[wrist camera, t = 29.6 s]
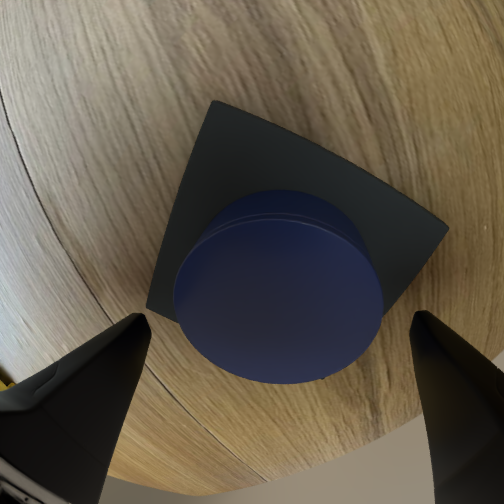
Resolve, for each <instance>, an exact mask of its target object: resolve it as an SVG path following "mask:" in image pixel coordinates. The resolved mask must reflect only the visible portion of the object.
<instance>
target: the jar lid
mask: <svg viewBox="0 0 504 504" xmlns="http://www.w3.org/2000/svg"><path fill="white" fill-rule="evenodd" d="M173 301H174V309H175V313H176V317H177V320H178V322H179V325H180V327H181V329H182V331H183V333H184V334H185V336H186V337H187V339H188V340H189V341H190V343H191V344H192V345H193V346H194V347H195V348H196V349H197V350H198V351H199V352H200V353H201V354H202V355H203V356H204V357H205V358H207V359H208V360H209V361H210V362H212V363H213V364H215V365H217V366H218V367H220V368H222V369H224V370H226V371H227V372H229V373H232V374H234V375H237V376H239V377H242V378H246V379H249V380H253V381H258V382H263V383H271V384H297V383H304V382H309V381H314V380H318V379H321V378H324V377H327V376H329V375H332V374H334V373H336V372H338V371H340V370H342V369H343V368H345V367H347V366H348V365H350V364H351V363H352V362H354V361H355V360H356V359H357V358H358V357H360V356H361V355H362V354H363V353H364V352H365V350H366V349H367V348H368V347H369V346H370V344H371V343H372V341H373V340H374V338H375V336H376V334H377V332H378V330H379V327H380V325H381V321H382V317H383V309H384V299H383V291H382V287H381V283H380V280H379V277H378V275H377V272H376V270H375V267H374V265H373V262H372V260H371V257H370V255H369V252H368V250H367V248H366V245H365V243H364V240H363V238H362V237H361V235H360V233H359V231H358V229H357V228H356V226H355V225H354V224H353V222H352V221H351V220H350V219H349V218H348V217H347V216H346V215H345V214H344V213H343V212H342V211H340V210H339V209H338V208H337V207H335V206H334V205H332V204H330V203H329V202H327V201H325V200H323V199H321V198H319V197H316V196H314V195H311V194H307V193H304V192H299V191H292V190H269V191H262V192H257V193H254V194H251V195H247V196H245V197H243V198H241V199H238V200H236V201H234V202H233V203H231V204H230V205H228V206H227V207H225V208H224V209H223V210H222V211H220V212H219V213H218V214H217V215H216V216H215V217H214V219H213V220H212V221H211V222H210V223H209V225H208V226H207V228H206V229H205V231H204V232H203V233H202V235H201V236H200V238H199V239H198V241H197V242H196V244H195V245H194V246H193V248H192V249H191V251H190V252H189V254H188V255H187V257H186V258H185V260H184V262H183V263H182V264H181V266H180V268H179V271H178V274H177V276H176V280H175V285H174V293H173Z"/></svg>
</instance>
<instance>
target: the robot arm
mask: <svg viewBox="0 0 504 504" xmlns="http://www.w3.org/2000/svg"><path fill="white" fill-rule="evenodd" d="M151 336H152V333H151V329H150V326H149V324H148V322H147V319H146V317H145V315H144V314H142V313H132V314H130V315H128V316H127V317H125V318H124V319H122V320H121V321H119V322H117V323H116V324H114V325H113V326H111V327H109V328H108V329H106V330H105V331H103V332H101V333H100V334H98V335H97V336H95V337H94V338H92V339H90V340H89V341H87V342H86V343H84V344H83V345H81V346H79V347H78V348H76V349H75V350H73V351H72V352H70V353H68V354H67V355H65V356H64V357H62V358H61V359H59V360H57V361H56V362H54V363H53V364H51V365H50V366H48V367H46V368H45V369H43V370H41V371H40V372H38V373H36V374H34V375H33V376H31V377H29V378H27V379H25V380H23V381H22V382H20V383H18V384H16V385H14V386H12V387H11V388H9V389H6V390H3V391H0V504H69V503H71V504H98V503H99V499H100V495H101V492H102V488H103V485H104V482H105V478H106V475H107V472H108V468H109V465H110V462H111V459H112V456H113V453H114V449H115V446H116V443H117V440H118V437H119V434H120V431H121V429H122V426H123V423H124V420H125V417H126V414H127V411H128V409H129V406H130V403H131V400H132V398H133V395H134V392H135V389H136V387H137V384H138V381H139V379H140V376H141V373H142V370H143V366H144V363H145V359H146V355H147V351H148V348H149V344H150V340H151ZM409 337H410V344H411V350H412V357H413V364H414V371H415V378H416V382H417V387H418V391H419V395H420V400H421V405H422V409H423V414H424V419H425V424H426V431H427V436H428V443H429V449H430V455H431V463H432V471H433V481H434V488H435V489H434V495H435V504H504V373H503V372H502V371H501V370H500V369H499V368H498V369H497V366H495V365H494V364H493V363H492V362H491V361H490V360H488V359H487V358H486V357H485V356H484V355H482V354H481V353H480V352H479V351H478V350H477V349H475V348H474V347H473V346H472V345H470V344H469V343H468V342H467V341H466V340H464V339H463V338H462V337H461V336H459V335H458V334H457V333H456V332H455V331H453V330H452V329H451V328H450V327H448V326H447V325H446V324H444V323H443V322H442V321H441V320H439V319H438V318H437V317H436V316H434V315H433V314H432V313H430V312H429V311H427V310H422V311H416V312H415V314H414V317H413V320H412V324H411V327H410V332H409Z"/></svg>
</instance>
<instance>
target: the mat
mask: <svg viewBox="0 0 504 504" xmlns="http://www.w3.org/2000/svg"><path fill="white" fill-rule="evenodd" d="M269 190H292V191H299V192H304V193H307V194H311V195H314V196H316V197H319V198H321V199H323V200H325V201H327V202H329V203H330V204H332V205H334V206H335V207H337V208H338V209H339V210H340V211H342V212H343V213H344V214H345V215H346V216H347V217H348V218H349V219H350V220H351V221H352V222H353V224H354V225H355V226H356V228H357V229H358V231H359V233H360V235H361V237H362V238H363V240H364V243H365V245H366V248H367V250H368V252H369V255H370V257H371V260H372V262H373V265H374V267H375V270H376V272H377V275H378V277H379V280H380V283H381V287H382V291H383V299H384V309H383V316H384V315H385V314H386V313H387V312H388V310H389V309H390V308H391V307H392V306H393V304H394V303H395V302H396V301H397V300H398V298H399V297H400V296H401V295H402V293H403V292H404V291H405V290H406V288H407V287H408V286H409V285H410V283H411V282H412V281H413V279H414V278H415V277H416V275H417V274H418V273H419V271H420V270H421V269H422V267H423V266H424V265H425V263H426V262H427V260H428V259H429V258H430V256H431V255H432V253H433V252H434V251H435V249H436V248H437V246H438V245H439V243H440V242H441V240H442V239H443V237H444V236H445V234H446V233H447V231H448V230H449V227H448V226H447V225H446V224H445V223H444V222H443V221H442V220H440V219H439V218H437V217H436V216H435V215H433V214H432V213H430V212H429V211H428V210H426V209H425V208H423V207H422V206H420V205H419V204H417V203H416V202H414V201H413V200H411V199H410V198H408V197H407V196H405V195H404V194H402V193H401V192H399V191H398V190H396V189H395V188H393V187H391V186H390V185H388V184H387V183H385V182H383V181H382V180H380V179H379V178H377V177H375V176H374V175H372V174H370V173H369V172H367V171H365V170H363V169H362V168H360V167H358V166H356V165H355V164H353V163H351V162H349V161H348V160H346V159H344V158H342V157H340V156H338V155H337V154H335V153H333V152H331V151H329V150H327V149H325V148H323V147H321V146H320V145H318V144H316V143H314V142H312V141H310V140H308V139H306V138H304V137H302V136H299V135H297V134H295V133H293V132H291V131H289V130H287V129H285V128H283V127H280V126H278V125H276V124H274V123H271V122H269V121H267V120H265V119H262V118H260V117H258V116H255V115H253V114H251V113H248V112H246V111H243V110H241V109H238V108H236V107H233V106H231V105H228V104H226V103H223V102H220V101H215V100H214V101H212V102H211V105H210V107H209V109H208V112H207V114H206V117H205V119H204V122H203V124H202V127H201V129H200V132H199V135H198V137H197V140H196V142H195V145H194V148H193V150H192V153H191V156H190V159H189V161H188V164H187V167H186V170H185V173H184V175H183V178H182V181H181V184H180V187H179V190H178V193H177V196H176V199H175V202H174V205H173V209H172V212H171V215H170V218H169V221H168V225H167V228H166V231H165V235H164V238H163V241H162V245H161V248H160V252H159V256H158V259H157V263H156V266H155V270H154V274H153V278H152V282H151V286H150V290H149V294H148V298H147V302H146V308H147V309H150V310H152V311H154V312H156V313H158V314H160V315H162V316H164V317H166V318H168V319H170V320H172V321H174V322H176V323H179V322H178V320H177V317H176V313H175V309H174V301H173V293H174V285H175V280H176V276H177V274H178V271H179V268H180V266H181V264H182V263H183V262H184V260H185V258H186V257H187V255H188V254H189V252H190V251H191V249H192V248H193V246H194V245H195V244H196V242H197V241H198V239H199V238H200V236H201V235H202V233H203V232H204V231H205V229H206V228H207V226H208V225H209V223H210V222H211V221H212V220H213V219H214V217H215V216H216V215H217V214H218V213H219V212H220V211H222V210H223V209H224V208H225V207H227V206H228V205H230V204H231V203H233V202H234V201H236V200H238V199H241V198H243V197H245V196H247V195H251V194H254V193H257V192H262V191H269ZM324 378H325V377H324ZM324 378H321V379H322V380H323V379H324Z"/></svg>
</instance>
